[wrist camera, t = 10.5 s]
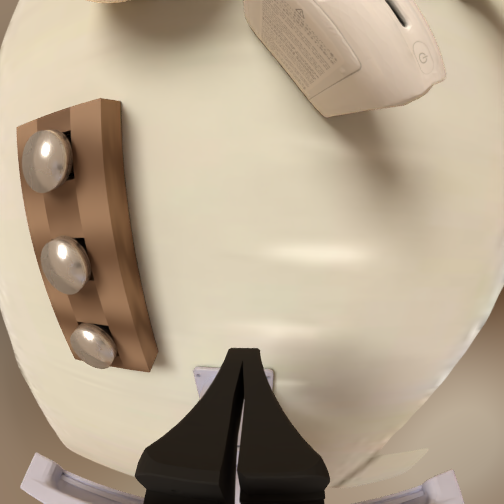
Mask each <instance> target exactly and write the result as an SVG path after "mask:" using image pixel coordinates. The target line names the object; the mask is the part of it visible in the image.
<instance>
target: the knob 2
mask: <svg viewBox="0 0 504 504" xmlns="http://www.w3.org/2000/svg"><path fill="white" fill-rule="evenodd" d="M70 343H71V346H72V348H73V350H74V352H75V353H76V354H77V355H78V357H79V358H80V359H82V360H83V361H84V362H85V363H87V364H89V365H90V366H93V367H95V368H99V369H105V368H108V367H109V366H110V365H111V364H112V362H113V360H114V358H115V356H116V354H117V348H116V345H115V343H114V340H113V338H112V335H111V332H110V329H109V326H106V325H98V324H90V323H82V324H80V325H79V326H78V327H77V328H76V329H75V331H74V332H73V333H72V335H71V337H70Z"/></svg>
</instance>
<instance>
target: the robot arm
mask: <svg viewBox="0 0 504 504" xmlns="http://www.w3.org/2000/svg"><path fill="white" fill-rule="evenodd" d="M193 372H194V377H195V381H196V386H197V390H198V394H199V398H200V399H199V402H198V403H197V404H196V405H195V406H194V408H193V409H192V410H191V411H190V412H189V413H188V414H187V415H186V416H185V417H184V418H183V419H182V420H181V421H180V422H179V423H178V424H177V425H176V426H175V427H173V428H172V429H171V430H170V431H169V432H168V433H166V434H165V435H164V436H163V437H161V438H160V439H158V440H157V441H156V442H154V443H153V444H151V445H150V446H148V447H147V448H145V450H144V452H143V454H142V455H141V458H140V460H139V462H138V465H137V469H136V473H135V477H136V479H137V480H138V481H139V482H140V483H141V484H142V485H143V486H144V487H145V488H146V489H147V490H146V494H145V498H143V497H139V496H136V495H132V494H129V493H125V492H122V491H119V490H115V489H112V488H109V487H106V486H103V485H100V484H98V483H95V482H92V481H90V480H87V479H85V478H82V477H80V476H77V475H75V474H73V473H70V472H68V471H66V470H63V469H62V467H61V466H60V465H58V464H57V463H56V462H54V461H52V460H51V459H49V458H47V457H45V456H43V455H41V454H39V453H35V455H34V457H33V459H32V461H31V464H30V466H29V468H28V470H27V472H26V475H25V477H24V479H23V481H22V484H21V486H20V488H21V489H22V490H24V491H25V492H27V493H28V494H30V495H31V496H33V497H34V498H36V499H38V500H39V501H41V502H42V503H44V504H324V499H325V491H324V490H325V488H326V487H327V485H328V484H329V482H330V477H329V473H328V470H327V468H326V466H325V464H324V462H323V460H322V458H321V456H320V455H319V454H318V453H317V452H315V451H314V450H313V448H312V447H311V446H310V445H309V444H308V443H307V442H306V441H305V440H304V439H303V438H302V436H301V435H300V434H299V433H298V431H297V430H296V429H295V427H294V426H293V425H292V424H291V422H290V421H289V419H288V418H287V416H286V415H285V413H284V412H283V410H282V408H281V407H280V405H279V403H278V401H277V399H276V397H275V395H274V393H273V370H271V369H263V365H262V361H261V356H260V350H259V349H258V348H230V349H229V350H228V353H227V355H226V358H225V360H224V362H223V364H222V366H221V368H210V367H195V368H194V370H193ZM199 374H200V375H199ZM267 376H270V377H267ZM353 504H464V501H463V497H462V494H461V491H460V488H459V485H458V482H457V479H456V476H455V473H454V470H453V469H450V470H448V471H446V472H443V473H441V474H438V475H436V476H434V477H431V478H429V479H428V480H426V481H425V482H424V483H423V484H422V485H420V486H417V487H414V488H411V489H408V490H405V491H401V492H399V493H395V494H391V495H388V496H384V497H380V498H376V499H372V500H368V501H363V502H358V503H353Z"/></svg>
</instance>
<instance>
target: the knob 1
mask: <svg viewBox="0 0 504 504" xmlns="http://www.w3.org/2000/svg"><path fill="white" fill-rule="evenodd" d="M22 170H23V175H24V178H25V180H26V182H27V184H28V185H29V186H30V187H31V188H32V189H33V190H34V191H36V192H39V193H45V192H48V191H51V190H53V189H56V188H58V187H60V186H61V185H63V184H64V183H65V181H66V180H67V178H68V176H69V174H70V173H71V172H74V169H73V155H72V145H71V138H67V137H66V136H65V134H63V133H62V132H61V131H59V130H55V129H53V130H42V131H38V132H36V133H34V134H33V135H32V136H31V137H30V138H29V140H28V141H27V143H26V145H25V147H24V150H23V155H22Z"/></svg>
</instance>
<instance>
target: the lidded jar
mask: <svg viewBox="0 0 504 504" xmlns="http://www.w3.org/2000/svg"><path fill="white" fill-rule="evenodd" d="M87 1H92V2H97V3H119V2H125V1H129V0H87Z"/></svg>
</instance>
